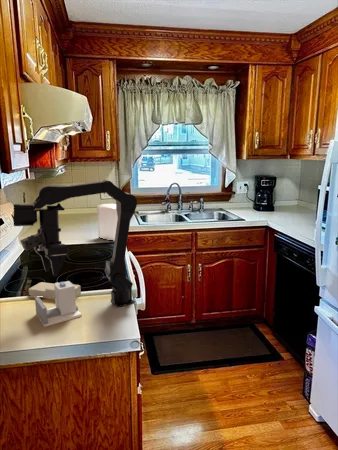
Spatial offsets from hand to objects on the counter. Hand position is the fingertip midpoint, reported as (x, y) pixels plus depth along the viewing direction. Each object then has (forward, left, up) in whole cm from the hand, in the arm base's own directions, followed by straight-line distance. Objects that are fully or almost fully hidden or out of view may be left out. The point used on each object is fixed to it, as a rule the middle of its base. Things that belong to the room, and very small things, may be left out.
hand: (51, 274), depth 107 cm
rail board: (-2, -1, -15) cm, 15 cm away
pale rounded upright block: (-58, -84, -15) cm, 104 cm away
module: (-4, -1, -15) cm, 16 cm away
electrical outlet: (-5, -18, -16) cm, 24 cm away
